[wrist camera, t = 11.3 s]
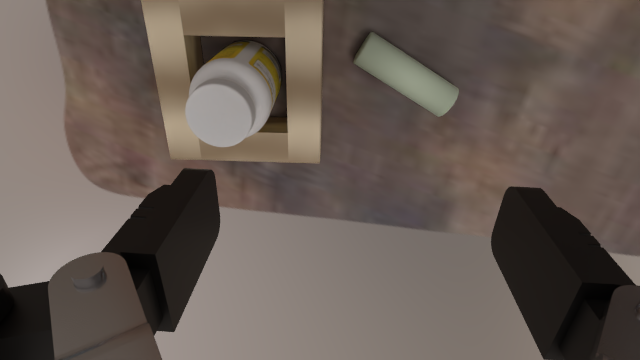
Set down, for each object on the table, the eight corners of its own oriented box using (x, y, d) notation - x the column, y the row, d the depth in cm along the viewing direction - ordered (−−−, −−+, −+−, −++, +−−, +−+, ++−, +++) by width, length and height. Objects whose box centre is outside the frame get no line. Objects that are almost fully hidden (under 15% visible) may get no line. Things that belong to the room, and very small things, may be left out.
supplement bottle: (208, 92, 32) (163, 138, 24) (226, 28, 30) (182, 53, 21) (270, 116, 33) (248, 170, 25) (292, 56, 31) (276, 91, 22)
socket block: (160, -9, 29) (139, -6, 26) (323, -6, 28) (322, -3, 25) (185, 141, 35) (170, 158, 31) (321, 145, 34) (319, 163, 31)
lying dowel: (365, 50, 27) (376, 24, 28) (349, 69, 30) (359, 45, 31) (454, 107, 29) (461, 81, 30) (432, 121, 32) (440, 97, 33)
